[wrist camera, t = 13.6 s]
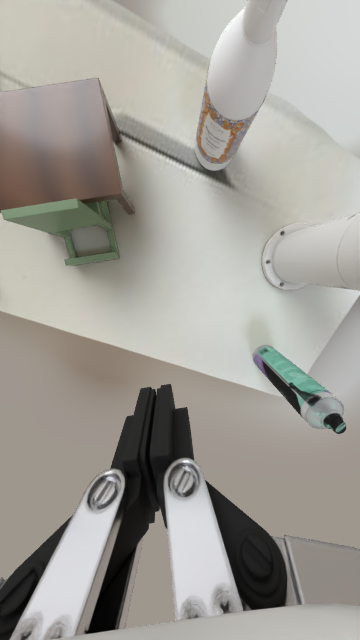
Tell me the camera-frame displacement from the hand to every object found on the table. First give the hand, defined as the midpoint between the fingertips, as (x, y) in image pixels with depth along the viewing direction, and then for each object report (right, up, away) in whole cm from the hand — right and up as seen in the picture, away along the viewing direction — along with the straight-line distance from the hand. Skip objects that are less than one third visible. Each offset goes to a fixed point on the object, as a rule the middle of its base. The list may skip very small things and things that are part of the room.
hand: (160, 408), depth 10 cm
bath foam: (+7, +34, +21) cm, 41 cm away
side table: (-16, +29, +21) cm, 40 cm away
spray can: (+21, -3, +32) cm, 39 cm away
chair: (-16, +23, +23) cm, 36 cm away
